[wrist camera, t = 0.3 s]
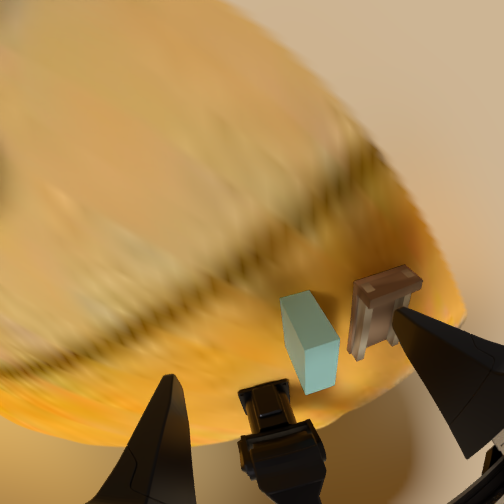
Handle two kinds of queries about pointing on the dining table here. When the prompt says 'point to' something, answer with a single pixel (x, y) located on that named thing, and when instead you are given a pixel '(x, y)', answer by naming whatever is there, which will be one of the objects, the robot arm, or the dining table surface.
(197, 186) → the dining table surface
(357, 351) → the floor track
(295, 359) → the pale teal rectangular prism
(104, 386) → the dining table surface
